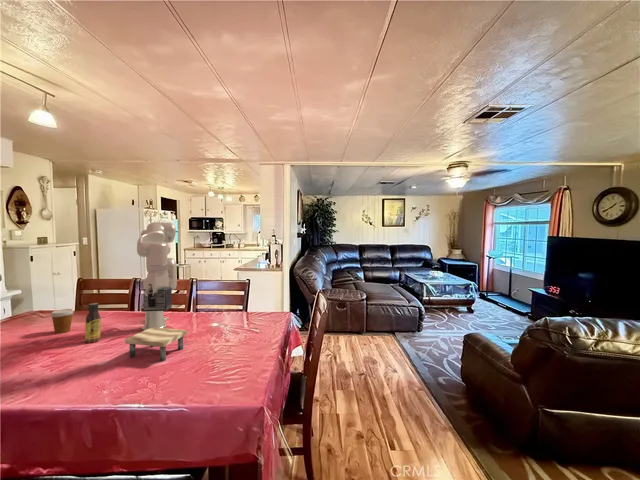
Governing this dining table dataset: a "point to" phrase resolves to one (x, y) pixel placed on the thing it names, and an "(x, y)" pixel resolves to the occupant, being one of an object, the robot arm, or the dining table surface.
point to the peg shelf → (156, 340)
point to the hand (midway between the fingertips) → (158, 304)
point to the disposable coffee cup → (62, 320)
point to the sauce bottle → (92, 324)
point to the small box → (160, 300)
